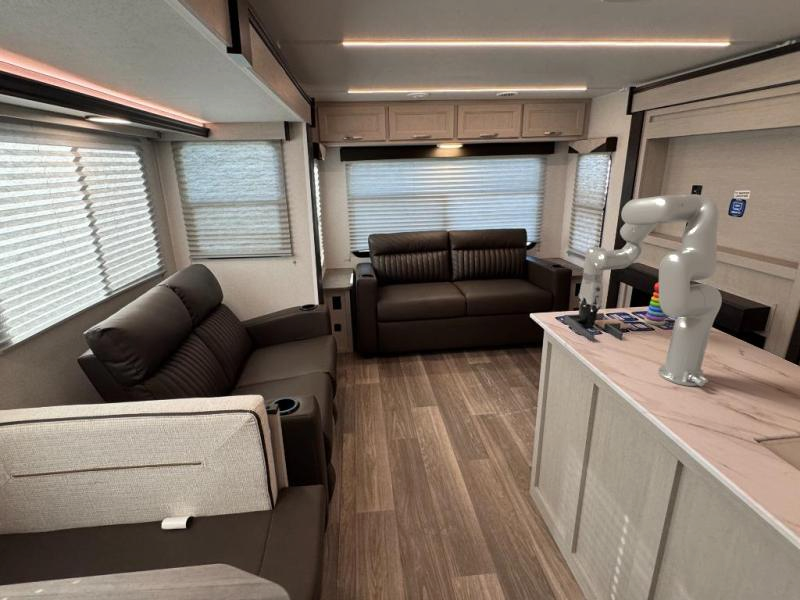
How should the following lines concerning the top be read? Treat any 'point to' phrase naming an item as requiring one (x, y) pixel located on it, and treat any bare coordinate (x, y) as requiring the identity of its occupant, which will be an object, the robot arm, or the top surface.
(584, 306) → the supplement bottle
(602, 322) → the end pad
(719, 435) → the top surface
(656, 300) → the stacking toy
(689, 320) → the robot arm
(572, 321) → the bent rails
